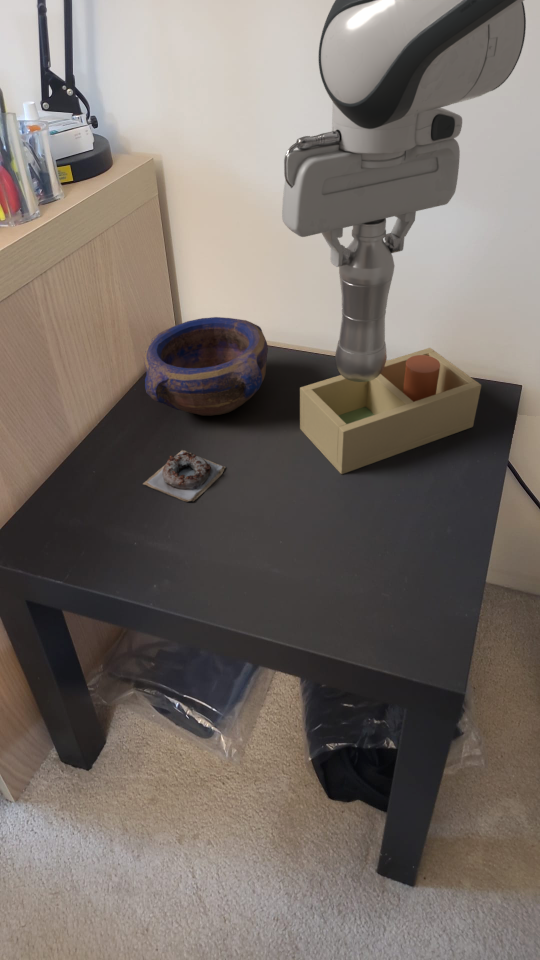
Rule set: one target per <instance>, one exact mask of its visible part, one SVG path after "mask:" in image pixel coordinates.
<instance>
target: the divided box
mask: <svg viewBox="0 0 540 960" xmlns="http://www.w3.org/2000/svg"><path fill="white" fill-rule="evenodd" d="M416 355H427V356H431V357H434V358H435V359H437V360H438V361H439V362H440V371H439V378H438V384H437V391H436V395H433V396H430V397H427V398H424V399H421V400H418V401H415V402H413V401H412V400H411V399H410V398H408V397H407V396H406V395H405V394H404V393H403V383H404V374H405V366H406V361H407V359H408V358H410V357H412V356H416ZM481 389H482V384H481V383H479V382H478V381H476V379H474V378H473V377H471V376H470V375H469V374H467V373H466V372H464V371H463V370H461V369H460V368H459V367H457V366H456V365H455V364H453V363H452V362H451V361H449V360H448V359H447V358H446V357H444V356H443V355H441V354H440V353H439V352H437V351H435V350H434V349H433V348H431V347H427V348H424V349H421V350H418V351H414V352H411V353H408V354H405V355H402V356H398V357H395V358H392V359H388V360H386V363H385V366H384V370H383V371H382V373H381V374H380V375H379V376H378V377H377V378H375V379H373V380H371V381H367V382H354V381H350V380H348V379H346V378H344V377H343V376H342V375H341V374H339V375H337V376H333V377H330V378H327V379H324V380H320V381H317V382H314V383H310V384H308V385H304V386H301V387H299V430H300V431H301V432H302V433H303V434H304V435H305V436H306V437H307V438H308V440H310V442H311V443H312V444H313V445H314V446H315V447H316V449H318V451H320V453H321V454H322V455H323V456H324V457H325V458H326V459H327V460H328V462H329V463H330V464H331V465H332V466H333V467H334V468H335V470H337V472H338V473H339V474H340V475H343V474H347V473H349V472H352V471H355V470H358V469H361V468H363V467H367V466H369V465H371V464H374V463H377V462H380V461H382V460H385V459H388V458H391V457H394V456H397V455H399V454H402V453H404V452H407V451H410V450H412V449H415V448H419V447H421V446H424V445H426V444H429V443H433V442H435V441H438V440H441V439H443V438H447V437H448V436H451V435H454V434H457V433H459V432H462V431H465V430H468V429H470V428H473V427H474V423H475V420H476V419H475V418H476V414H477V410H478V405H479V399H480V394H481V391H482V390H481Z"/></svg>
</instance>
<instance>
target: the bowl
mask: <svg viewBox="0 0 540 960" xmlns="http://www.w3.org/2000/svg"><path fill="white" fill-rule="evenodd" d="M150 341H151V342H150V343H149V344H148V346H147V347H146V350H145V352H144V356H143V363H144V369H145V372H146V375H145V378H144V388H145V393H146V394H147V395H148V396H149V397H150V399H152V400H153V401H155V402H157V403H160V404H162V405H165V406H167V407H170V408H172V409H175V410H176V411H182V412H186V413H188V414H189V413H190V414H195V415H198V416H211V417H212V416H221V415H225V414H229V413H231V412H232V411H235V410H236V409H238V408H239V407H241V406H242V405H244V404H245V403H246V402H247V401H249V400H250V399H251V398H252V397H253V396H254V395H255V394H256V393H257V391H259V390H260V388H261V386H262V384H263V381H264V379H265V377H266V371H267V360H268V353H269V347H268V346H269V345H268V343H267V339H266V337H265V335H264V332H263V330H262V328H261V326H259V325H257V324H255V323H253V322H251V321H248V320H246V319H239V318H234V317H233V318H232V317H221V316H213V317H211V316H210V317H202V318H197V319H191V320H187V321H184V322H182V323H179V324H176V325H173V326H171V327H170V328H167V329H165V330H163V331H161V332H159V333H158V334H157V335H155V336H153V338H152V339H151V340H150Z"/></svg>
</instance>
